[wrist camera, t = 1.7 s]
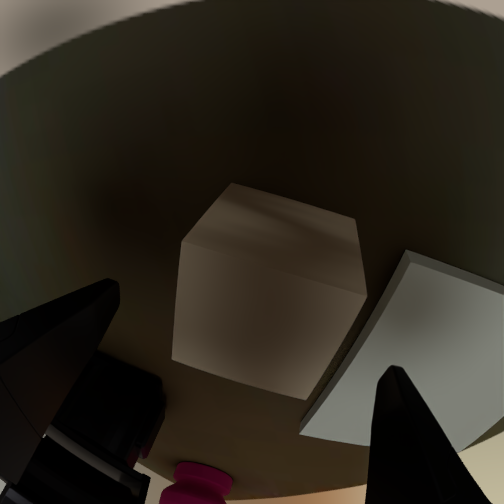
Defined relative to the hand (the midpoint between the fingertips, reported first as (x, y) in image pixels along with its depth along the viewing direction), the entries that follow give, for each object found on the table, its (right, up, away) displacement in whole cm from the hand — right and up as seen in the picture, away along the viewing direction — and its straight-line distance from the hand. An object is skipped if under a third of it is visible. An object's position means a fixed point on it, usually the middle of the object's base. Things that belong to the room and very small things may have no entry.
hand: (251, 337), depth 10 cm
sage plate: (+11, -5, +6) cm, 14 cm away
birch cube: (+1, +3, +4) cm, 5 cm away
